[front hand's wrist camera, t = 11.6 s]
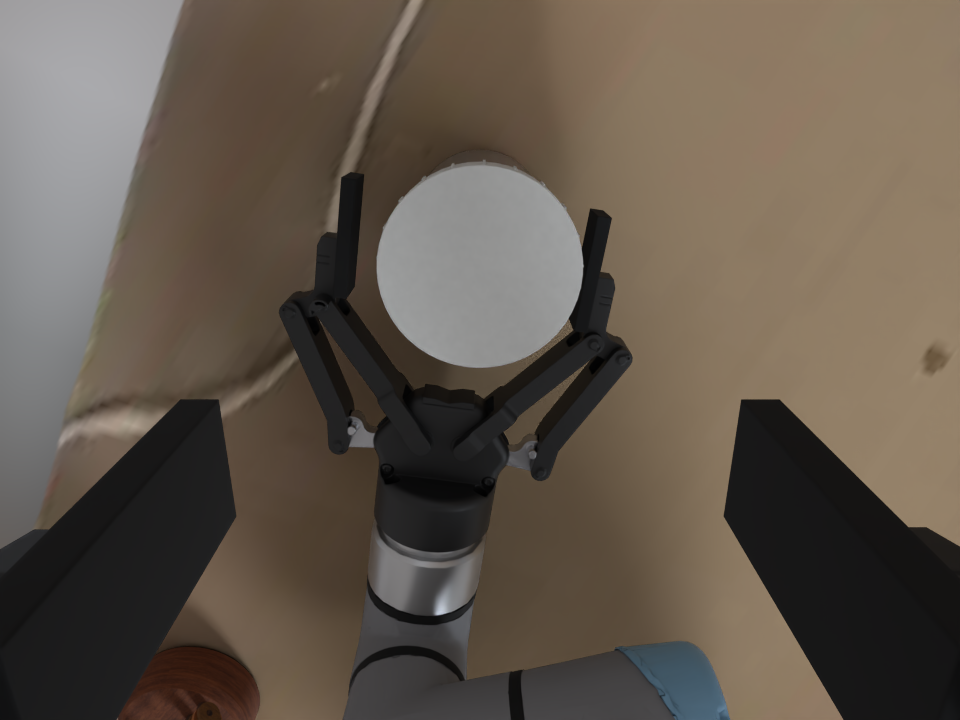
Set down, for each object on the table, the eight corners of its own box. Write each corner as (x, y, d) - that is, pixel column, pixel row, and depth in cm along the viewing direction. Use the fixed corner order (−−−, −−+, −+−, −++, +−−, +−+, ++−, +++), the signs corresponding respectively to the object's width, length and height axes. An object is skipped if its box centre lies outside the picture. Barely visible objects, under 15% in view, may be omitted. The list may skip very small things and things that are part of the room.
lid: (584, 346, 32) (590, 359, 30) (396, 365, 32) (392, 379, 31) (573, 149, 29) (578, 152, 27) (365, 173, 29) (358, 176, 28)
